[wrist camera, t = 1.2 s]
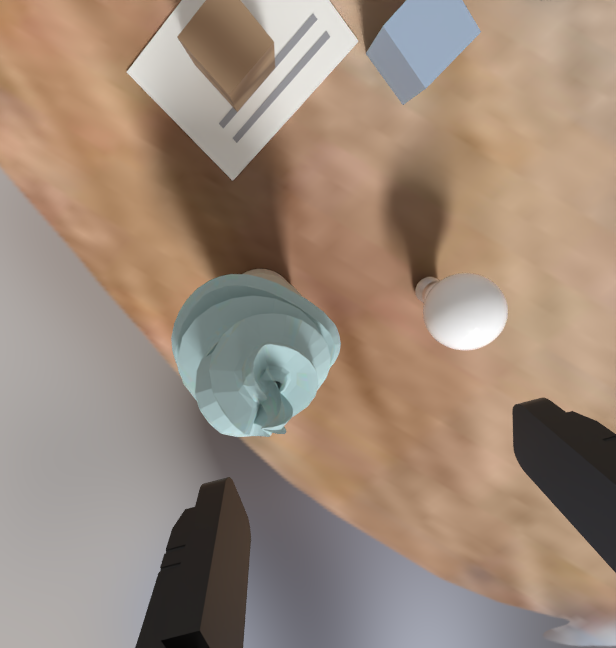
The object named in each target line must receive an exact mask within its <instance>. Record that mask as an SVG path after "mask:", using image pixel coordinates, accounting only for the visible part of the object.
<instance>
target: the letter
mask: <svg viewBox="0 0 616 648" xmlns="http://www.w3.org/2000/svg"><path fill="white" fill-rule="evenodd" d="M205 1H206V0H182V1H181V2H180V3H179V4H178V6H177V7H176V8H175V10H174V11H173V12H172V14H171V15H170V16H169V17H168V19H167V20H166V21H165V23H164V24H163V25H162V27H161V28H160V29H159V31H158V32H157V33H156V34H155V36H154V37H153V38H152V40H151V41H150V42H149V44H148V45H147V46H146V47H145V49H144V50H143V51H142V53H141V54H140V55H139V57H138V58H137V59H136V61H135V62H134V63H133V64H132V66H131V67H130V68H129V70H128V71H127V73H128V74H129V75H130V76H131V77H132V78H133V79H134V80H135V81H136V82H137V83H138V84H139V85H140V86H141V87H142V88H143V89H144V91H145V92H146V93H147V94H148V95H149V96H150V97H151V98H152V99H153V100H154V101H155V102H156V103H157V104H158V105H159V106H160V107H161V108H162V109H163V110H164V111H165V112H166V113H167V114H168V115H169V116H170V117H171V118H172V119H173V120H174V121H175V122H176V123H177V124H178V125H179V126H180V127H181V128H182V129H183V131H184V132H185V133H186V134H187V135H188V136H189V137H190V138H191V139H192V140H193V141H194V142H195V143H196V144H197V145H198V146H199V147H200V148H201V149H202V150H203V151H204V152H205V153H206V154H207V155H208V156H209V157H210V158H211V159H212V160H213V161H214V162H215V163H216V164H217V165H218V166H219V167H220V168H221V169H222V170H223V172H224V173H225V174H226V175H227V176H228V177H229V178H230V179H231V180H232V181H233V180H234V179H235V178H236V177H237V176H238V175H239V174H240V173H241V171H242V170H243V169H244V168H245V167H246V166H247V165H248V164H249V163H250V161H251V160H252V159H253V158H254V157H255V156H256V155H257V154H258V153H259V151H260V150H261V149H262V148H263V147H264V146H265V145H266V144H267V143H268V142H269V140H270V139H271V138H272V137H273V136H274V135H275V134H276V133H277V132H278V130H279V129H280V128H281V127H282V126H283V125H284V124H285V123H286V122H287V120H288V119H289V118H290V117H291V116H292V115H293V114H294V113H295V112H296V110H297V109H298V108H299V107H300V106H301V105H302V104H303V103H304V102H305V100H306V99H307V98H308V97H309V96H310V95H311V94H312V93H313V92H314V90H315V89H316V88H317V87H318V86H319V85H320V84H321V83H322V82H323V80H324V79H325V78H326V77H327V76H328V75H329V74H330V73H331V72H332V71H333V69H334V68H335V67H336V66H337V65H338V64H339V63H340V62H341V61H342V59H343V58H344V57H345V56H346V55H347V54H348V53H349V52H350V51H351V49H352V48H353V47H354V46H355V45H356V44H357V43H358V40H357V38H356V37H355V36H354V34H353V33H352V31H351V30H350V29H349V27H348V26H347V24H346V23H345V22H344V20H343V19H342V17H341V16H340V15H339V13H338V12H337V11H336V9H335V8H334V6H333V5H332V4H331V2H330V1H329V0H241V1H242V3H243V4H244V5H245V6H246V8H247V9H248V10H249V11H250V13H251V14H252V15H253V16H254V18H255V19H256V20H257V21H258V23H259V24H260V25H261V26H262V27H263V29H264V30H265V31H266V32H267V34H268V35H269V36H270V37H271V39H272V40H273V41H274V51H275V69H274V70H273V71H272V73H271V74H270V75H269V76H268V77H267V78H266V80H265V81H264V82H263V83H262V84H261V85H260V86H259V88H258V89H257V90H256V91H255V92H254V93H253V95H252V96H251V97H250V98H249V99H248V100H247V102H246V103H245V104H244V105H243V106H242V107H241V109H240V110H239V111H238V112H237V111H236V110H235V109H234V108H233V107H232V106H231V104H230V103H229V102H228V101H227V100H226V99H225V98H224V97H223V96H222V94H221V93H220V92H219V91H218V90H217V89H216V88H215V87H214V86H213V85H212V83H211V82H210V81H209V80H208V79H207V78H206V77H205V76H204V75H203V73H202V72H201V71H200V70H199V69H198V68H197V67H196V66H195V64H194V63H193V61H192V60H191V58H190V57H189V55H188V53H187V52H186V50H185V49H184V47H183V46H182V44H181V42H180V41H179V39H178V38H177V36H178V35H179V34H180V33H181V31H182V30H183V29H184V27H185V26H186V25H187V24H188V22H189V21H190V20H191V19H192V17H193V16H194V15H195V13H196V12H197V11H198V10H199V8H200V7H201V6H202V4H203V3H204V2H205Z"/></svg>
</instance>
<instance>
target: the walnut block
mask: <svg viewBox="0 0 616 648" xmlns="http://www.w3.org/2000/svg"><path fill="white" fill-rule="evenodd" d="M177 38H178V39H179V41H180V42H181V44H182V46H183V47H184V49H185V50H186V52H187V53H188V55H189V57H190V58H191V60H192V61H193V63H194V64H195V66H196V67H197V68H198V69H199V70H200V71H201V72H202V73H203V75H204V76H205V77H206V78H207V79H208V80H209V81H210V82H211V83H212V85H213V86H214V87H215V88H216V89H217V90H218V91H219V92H220V93H221V94H222V96H223V97H224V98H225V99H226V100H227V101H228V102H229V103H230V104H231V106H232V107H233V108H234V109H235V110H236V111H237V112H238V111H239V110H240V109H241V107H242V106H243V105H244V104H245V103H246V102H247V100H248V99H249V98H250V97H251V96H252V95H253V93H254V92H255V91H256V90H257V89H258V88H259V86H260V85H261V84H262V83H263V82H264V81H265V80H266V78H267V77H268V76H269V75H270V74H271V73H272V71H273V70H274V69H275V51H274V41H273V40H272V39H271V37H270V36H269V35H268V34H267V32H266V31H265V30H264V29H263V27H262V26H261V25H260V24H259V23H258V21H257V20H256V19H255V18H254V16H253V15H252V14H251V13H250V11H249V10H248V9H247V8H246V6H245V5H244V4H243V3H242V1H241V0H206V1H205V2H204V3H203V4H202V6H201V7H200V8H199V10H198V11H197V12H196V13H195V15H194V16H193V17H192V19H191V20H190V21H189V22H188V24H187V25H186V26H185V27H184V29H183V30H182V31H181V33H180V34H179V35H178V36H177Z"/></svg>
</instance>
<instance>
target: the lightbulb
mask: <svg viewBox="0 0 616 648" xmlns="http://www.w3.org/2000/svg"><path fill="white" fill-rule="evenodd" d="M415 293H416V296H417V298H418V299H419V300H420V301H421V302H423V303H424V306H423V318H424V322H425V325H426V327H427V329H428V331H429V333H430V334H431V335H432V336H433V337H434V338H435V339H436V340H437V341H438V342H439V343H441V344H443V345H445V346H447V347H449V348H452V349H456V350H474V349H478V348H481V347H483V346H485V345H487V344H489V343H491V342H492V341H493V340H495V339H496V338H497V337H498V336H499V334H500V333H501V332H502V330H503V328H504V326H505V324H506V321H507V317H508V305H507V301H506V298H505V296H504V294H503V292H502V291H501V289H500V288H499V287H498V286H497V285H496V284H495V283H494V282H493V281H491V280H490V279H488V278H486V277H484V276H481V275H478V274H474V273H458V274H454V275H451V276H448V277H446V278H444V279H442V280H441V281H440V280H438V279H436V278H434V277H426V278H423V279H422V280H420V281H419V283H418V284H417V286H416V289H415Z"/></svg>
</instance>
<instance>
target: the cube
mask: <svg viewBox="0 0 616 648" xmlns="http://www.w3.org/2000/svg"><path fill="white" fill-rule="evenodd" d="M480 32H481V31H480V29H479V28H478V26H477V24H476V23H475V21H474V19H473V18H472V16H471V14H470V13H469V11H468V9H467V8H466V6H465V4H464V2H463V1H462V0H406V1H405V2H404V3H403V5H402V6H401V7H400V8H399V9H398V10H397V11H396V12H395V13H394V14H393V16H392V17H391V18H390V19H389V20H388V21H387V22H386V23H385V24H384V25H383V27H382V28H381V30H380V32H379V33H378V35H377V36H376V38H375V40H374V41H373V43H372V44H371V46H370V48H369V49H368V51H367V52H366V54H367V56H368V57H369V59H370V60H371V61H372V63H373V64H374V66H375V67H376V68H377V70H378V71H379V72H380V74H381V75H382V77H383V78H384V79H385V81H386V82H387V84H388V85H389V86H390V88H391V89H392V91H393V92H394V93H395V95H396V96H397V97H398V99H399V100H400V102H401V103H402V104H403V105H404V104H405V103H406V102H408V101H409V100H411V99H412V98H413V97H415V96H416V95H418V94H419V93H420V92H422V91H423V90H424V89H426V88H427V87H428V86H429V85H430V84H431V83H432V82H433V81H434V80H435V79H436V78H437V77H438V76H439V75H440V73H441V72H442V71H443V70H444V69H445V68H446V67H447V66H448V65H449V64H450V63H451V62H452V61H453V60H454V59H455V58H456V57H457V56H458V55H459V54H460V53H461V52H462V51H463V50H464V49H465V48H466V47H467V46H468V45H469V44H470V43H471V42H472V41H473V40H474V39H475V38H476V37H477V36H478V34H479V33H480Z"/></svg>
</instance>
